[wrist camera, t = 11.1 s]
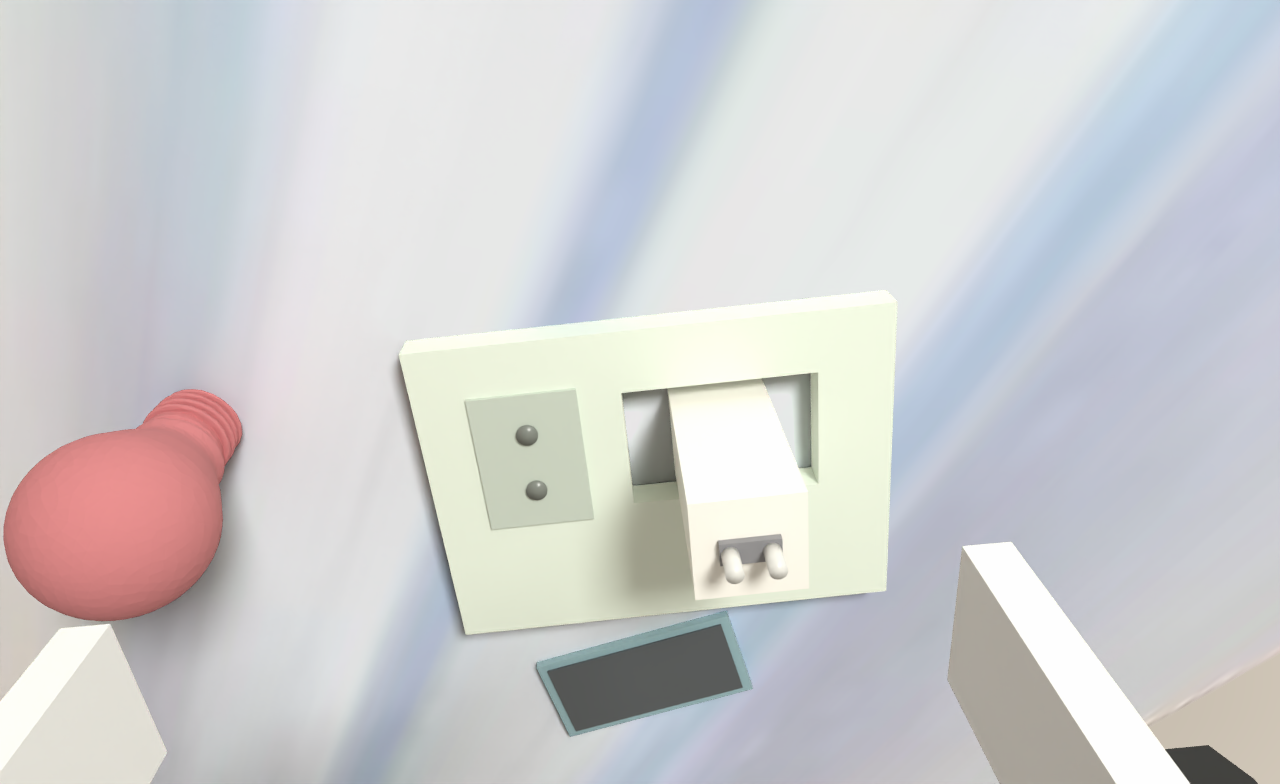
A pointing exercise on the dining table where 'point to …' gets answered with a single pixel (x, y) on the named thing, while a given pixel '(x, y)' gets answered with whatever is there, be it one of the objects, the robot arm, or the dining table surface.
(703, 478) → the charger
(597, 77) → the dining table surface
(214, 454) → the light bulb
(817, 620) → the dining table surface
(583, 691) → the phone
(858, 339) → the outlet plate
